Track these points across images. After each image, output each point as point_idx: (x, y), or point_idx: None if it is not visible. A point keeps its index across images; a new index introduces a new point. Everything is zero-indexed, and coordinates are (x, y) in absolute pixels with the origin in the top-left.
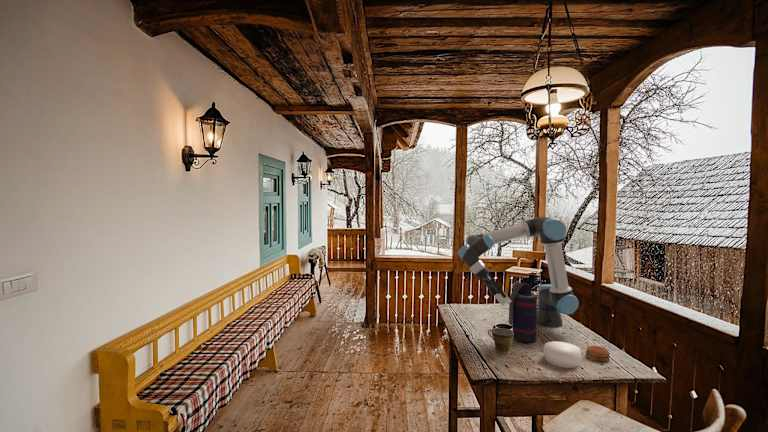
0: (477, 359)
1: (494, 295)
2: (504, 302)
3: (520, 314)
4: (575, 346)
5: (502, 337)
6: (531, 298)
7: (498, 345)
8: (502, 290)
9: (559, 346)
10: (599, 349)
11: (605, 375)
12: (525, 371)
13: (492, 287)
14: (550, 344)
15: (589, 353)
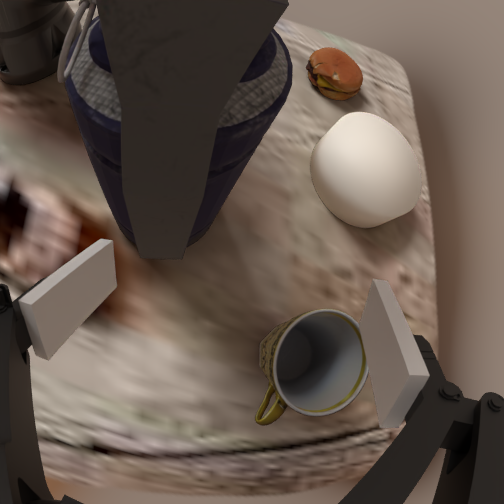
0: (338, 455)
1: (46, 357)
2: (107, 258)
3: (226, 191)
4: (366, 116)
5: (360, 377)
6: (288, 58)
7: (318, 382)
8: (452, 390)
9: (372, 162)
10: (347, 65)
11: (416, 138)
12: (415, 325)
13: (22, 424)
14: (359, 180)
15: (338, 89)
